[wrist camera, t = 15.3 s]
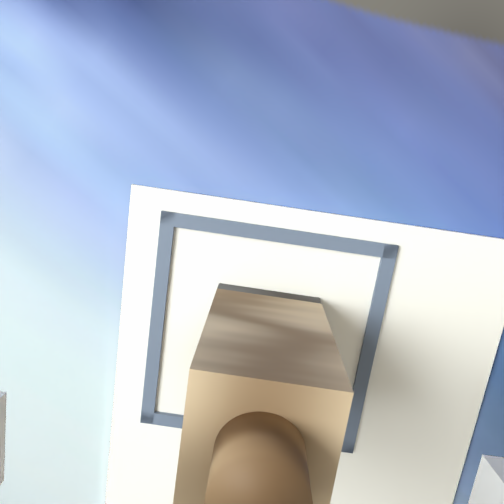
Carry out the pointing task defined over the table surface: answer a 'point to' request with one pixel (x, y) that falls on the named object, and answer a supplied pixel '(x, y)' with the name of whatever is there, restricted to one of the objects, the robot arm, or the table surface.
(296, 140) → the table surface
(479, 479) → the robot arm
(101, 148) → the table surface
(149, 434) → the sheet
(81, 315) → the table surface
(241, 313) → the stamp
